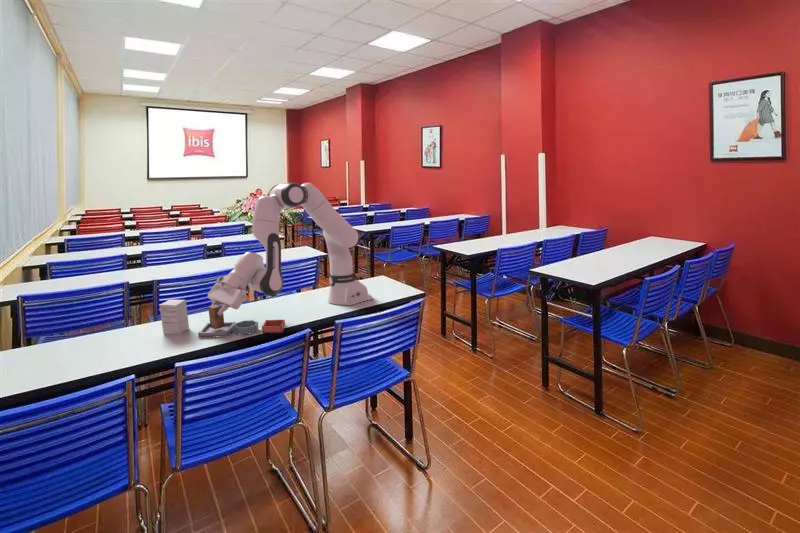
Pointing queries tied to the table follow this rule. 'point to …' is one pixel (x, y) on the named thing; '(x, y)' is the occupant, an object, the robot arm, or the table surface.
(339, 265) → the robot arm
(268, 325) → the bin
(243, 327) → the grey octagonal bowl
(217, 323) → the walnut block
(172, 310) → the supplement box
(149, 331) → the table surface
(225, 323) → the slate tray
